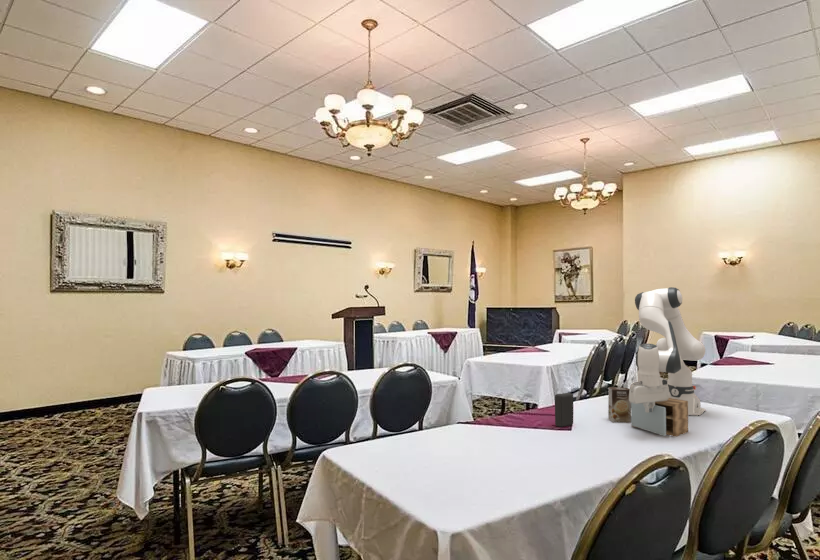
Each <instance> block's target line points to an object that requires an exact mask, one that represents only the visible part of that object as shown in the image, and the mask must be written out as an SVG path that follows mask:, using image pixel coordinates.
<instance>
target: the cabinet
mask: <svg viewBox="0 0 820 560" xmlns="http://www.w3.org/2000/svg"><path fill="white" fill-rule="evenodd" d="M655 405H657V406H661V407H665V408H666V436H671V437H674V438H675V437H678V436H682V435H685V434H686V433H689V415H688V401H685V400H679V399H673V398H669V399H668V400H667V401H659V402H655ZM631 427H632V428H635V429H641V428H638V427H635V426H632V425H631ZM641 430H642V429H641Z"/></svg>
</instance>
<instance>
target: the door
mask: <svg viewBox="0 0 820 560" xmlns="http://www.w3.org/2000/svg"><path fill="white" fill-rule="evenodd" d="M630 404H631V423H630V424H631V427H632V426H635V427H638V428H637V429H640V428H641V430H645V431H648V432H651V433H654V434H658V435H661V436H667V435H666V408H665V407H661V406H657V405H654V408H653V412H649V413H647V412H645V407H644V405H643V403H639V404H634V403H631V402H630ZM649 405H650V404H649ZM649 405H648V406H649ZM635 427H634V428H635Z"/></svg>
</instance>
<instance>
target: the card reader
mask: <svg viewBox="0 0 820 560" xmlns="http://www.w3.org/2000/svg"><path fill="white" fill-rule="evenodd" d="M554 424H555V426H556V427H559V428H563V426H564V427H569V426H572V425H573V424H574V394H573V393H570V392H564V393H563V392H562V393H556V394H555V395H554Z"/></svg>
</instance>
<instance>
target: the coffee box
mask: <svg viewBox="0 0 820 560" xmlns="http://www.w3.org/2000/svg"><path fill="white" fill-rule="evenodd" d="M629 391H630V387H629V388H628V387H619V386H618V387H617V386H608V400H607V401H608V406H607V407H608V412H607V413H608V416H607V417H608V418H607V419H608V420H609V421H610V422H611V423H625V424H627V423H630V424H631V404H630V401H629Z"/></svg>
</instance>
